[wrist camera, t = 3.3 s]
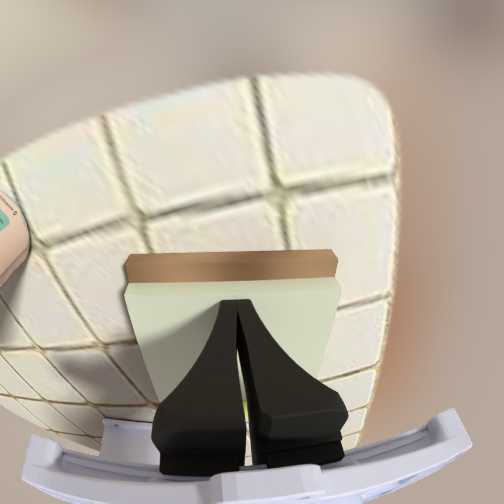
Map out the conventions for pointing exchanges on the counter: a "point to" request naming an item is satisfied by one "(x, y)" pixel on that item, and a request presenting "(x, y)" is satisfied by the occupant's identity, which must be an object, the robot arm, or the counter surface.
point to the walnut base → (230, 266)
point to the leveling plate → (205, 313)
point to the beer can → (11, 237)
